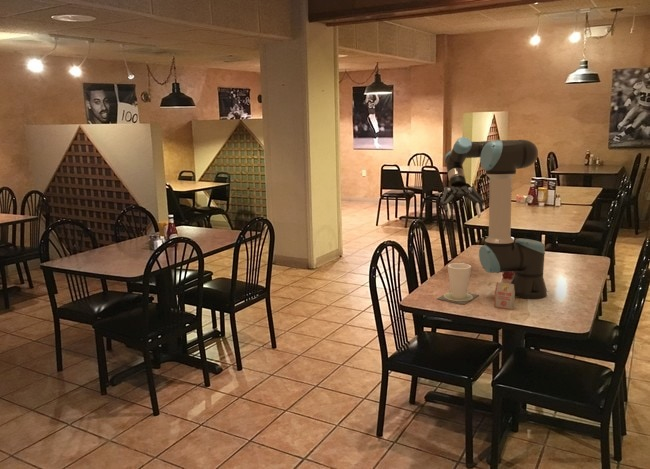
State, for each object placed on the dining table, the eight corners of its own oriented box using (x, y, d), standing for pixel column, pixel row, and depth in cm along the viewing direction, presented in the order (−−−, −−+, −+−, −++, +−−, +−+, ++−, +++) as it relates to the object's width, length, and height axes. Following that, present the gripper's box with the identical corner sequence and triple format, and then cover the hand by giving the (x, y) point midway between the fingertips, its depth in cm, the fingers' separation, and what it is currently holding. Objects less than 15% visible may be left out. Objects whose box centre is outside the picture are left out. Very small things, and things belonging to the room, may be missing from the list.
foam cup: (445, 298, 236) (445, 267, 233) (449, 291, 244) (449, 262, 242) (468, 300, 232) (469, 269, 230) (471, 293, 241) (472, 264, 238)
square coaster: (478, 296, 240) (479, 294, 240) (463, 304, 229) (463, 303, 229) (453, 291, 247) (453, 289, 247) (437, 299, 237) (437, 297, 237)
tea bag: (497, 304, 229) (498, 280, 227) (514, 307, 225) (515, 283, 223) (494, 307, 226) (495, 283, 224) (511, 310, 222) (512, 285, 220)
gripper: (481, 183, 273) (489, 220, 261) (429, 185, 272) (435, 221, 261) (485, 174, 266) (493, 210, 255) (432, 175, 266) (438, 212, 254)
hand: (464, 216), depth 258 cm, fingers open, 13 cm apart
